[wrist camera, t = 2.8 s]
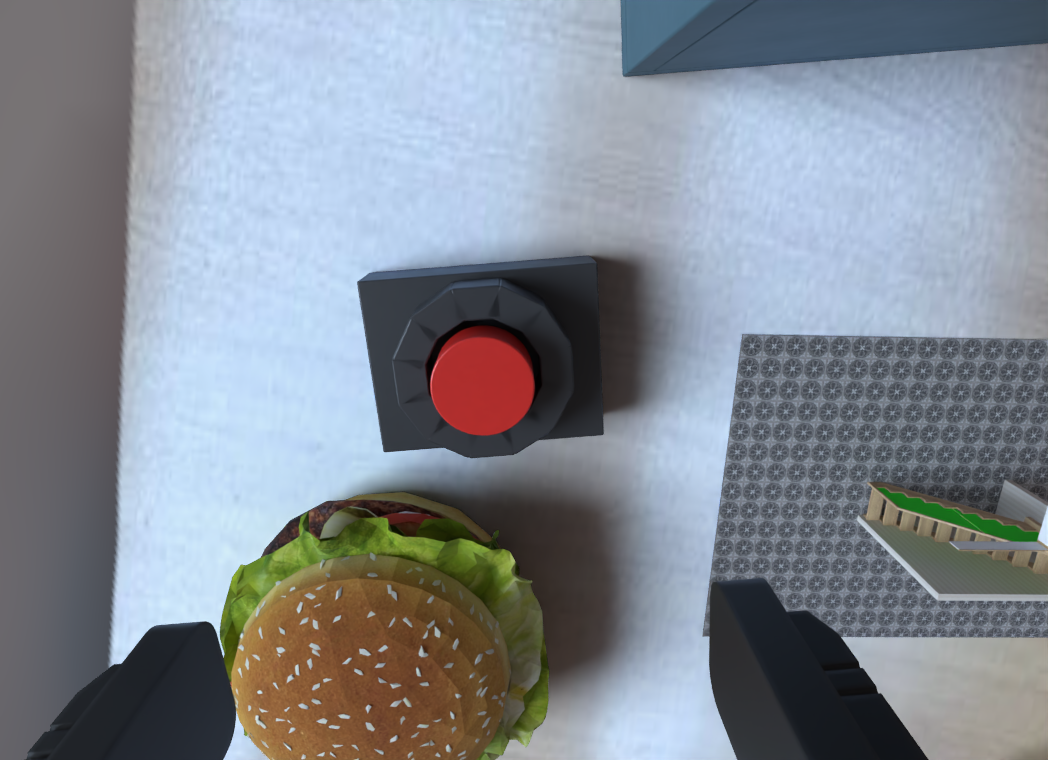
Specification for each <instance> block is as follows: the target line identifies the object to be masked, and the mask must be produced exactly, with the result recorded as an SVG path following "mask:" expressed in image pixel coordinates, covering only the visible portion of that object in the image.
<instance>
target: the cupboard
mask: <svg viewBox="0 0 1048 760" xmlns="http://www.w3.org/2000/svg"><path fill="white" fill-rule="evenodd" d="M621 28H622V68H623V76H624V77H626V76H638V75H651V74H663V73H676V72H689V71H701V70H714V69H727V68H739V67H752V66H765V65H777V64H790V63H802V62H815V61H828V60H840V59H853V58H866V57H878V56H891V55H904V54H916V53H929V52H942V51H954V50H967V49H979V48H992V47H1005V46H1017V45H1030V44H1043V43H1048V0H621Z"/></svg>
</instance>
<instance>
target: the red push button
mask: <svg viewBox="0 0 1048 760" xmlns="http://www.w3.org/2000/svg"><path fill="white" fill-rule="evenodd" d="M430 391H431V396H432V400H433V403H434V405H435V407H436V409H437V411H438V412H439V414H440V415H441V416H442V417H443V418H444V420H445V421H447V422H448V423H449V424H450V425H452V426H453V427H455V428H456V429H458V430H460V431H463V432H465V433H468V434H473V435H494V434H498V433H501V432H504V431H506V430H508V429H510V428H512V427H513V426H514V425H516V424H517V423H518V422H519V421H520V420H521V419H522V418H523V417H524V416H525V415H526V413H527V412H528V410H529V408H530V406H531V404H532V401H533V398H534V392H535V380H534V373H533V365H532V361H531V357H530V355H529V353H528V351H527V349H526V348H525V346H524V345H523V344H522V342H521V341H520V340H519V339H518V338H517V337H515V336H514V335H513V334H511V333H510V332H508V331H506V330H504V329H501V328H498V327H494V326H487V325H483V326H473V327H469V328H466V329H464V330H461V331H460V332H458V333H456V334H455V335H453V336H452V337H451V338H450V339H449V340H448V341H447V342H446V343H445V344H444V346H443V347H442V349H441V351H440V353H439V355H438V358H437V360H436V363H435V365H434V368H433V371H432V375H431V380H430Z"/></svg>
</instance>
